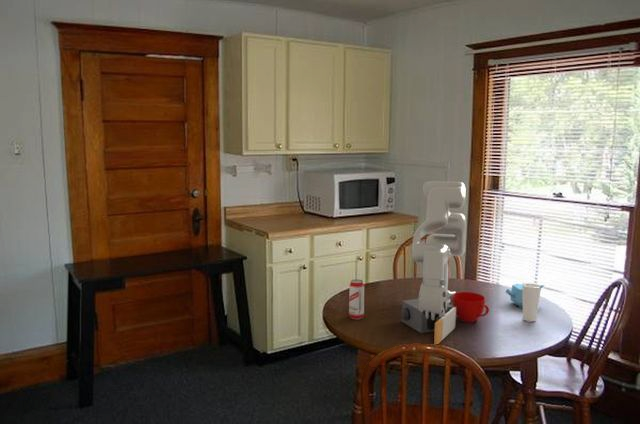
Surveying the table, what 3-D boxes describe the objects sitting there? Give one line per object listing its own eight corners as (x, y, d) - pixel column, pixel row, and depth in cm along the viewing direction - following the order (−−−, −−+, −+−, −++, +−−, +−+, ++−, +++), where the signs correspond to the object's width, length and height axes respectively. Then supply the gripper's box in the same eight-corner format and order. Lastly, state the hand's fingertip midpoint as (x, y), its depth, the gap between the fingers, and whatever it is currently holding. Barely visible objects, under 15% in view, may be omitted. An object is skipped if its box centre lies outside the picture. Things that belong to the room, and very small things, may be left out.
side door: (452, 326, 218) (453, 306, 217) (455, 327, 218) (456, 307, 216) (433, 344, 200) (434, 323, 199) (437, 345, 200) (437, 323, 198)
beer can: (355, 313, 234) (356, 278, 232) (366, 317, 230) (367, 281, 227) (346, 317, 230) (346, 281, 227) (357, 321, 225) (357, 284, 223)
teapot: (511, 310, 239) (512, 288, 237) (498, 300, 253) (499, 279, 251) (550, 309, 241) (551, 287, 239) (535, 299, 254) (536, 278, 253)
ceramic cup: (476, 330, 215) (477, 306, 214) (445, 317, 230) (446, 295, 228) (498, 324, 222) (499, 300, 221) (466, 312, 236) (467, 290, 235)
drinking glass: (530, 323, 222) (532, 288, 220) (517, 318, 228) (519, 284, 226) (541, 321, 226) (544, 286, 223) (528, 316, 231) (530, 282, 229)
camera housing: (431, 316, 231) (432, 294, 229) (452, 327, 218) (453, 304, 217) (398, 322, 224) (399, 299, 223) (418, 333, 212) (418, 309, 210)
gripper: (456, 283, 198) (454, 330, 201) (420, 275, 208) (419, 321, 211) (446, 287, 193) (444, 336, 196) (410, 279, 203) (408, 326, 206)
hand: (431, 328), depth 204 cm, fingers closed
